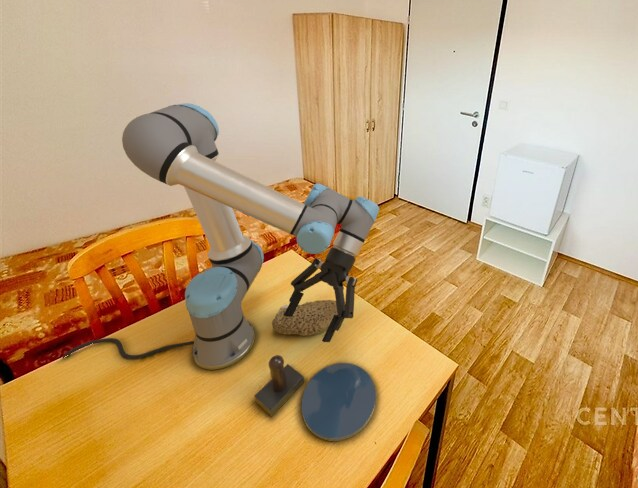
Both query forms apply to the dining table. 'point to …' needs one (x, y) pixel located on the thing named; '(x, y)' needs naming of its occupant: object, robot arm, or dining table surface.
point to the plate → (338, 402)
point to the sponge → (306, 318)
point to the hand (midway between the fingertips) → (305, 328)
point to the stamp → (278, 386)
